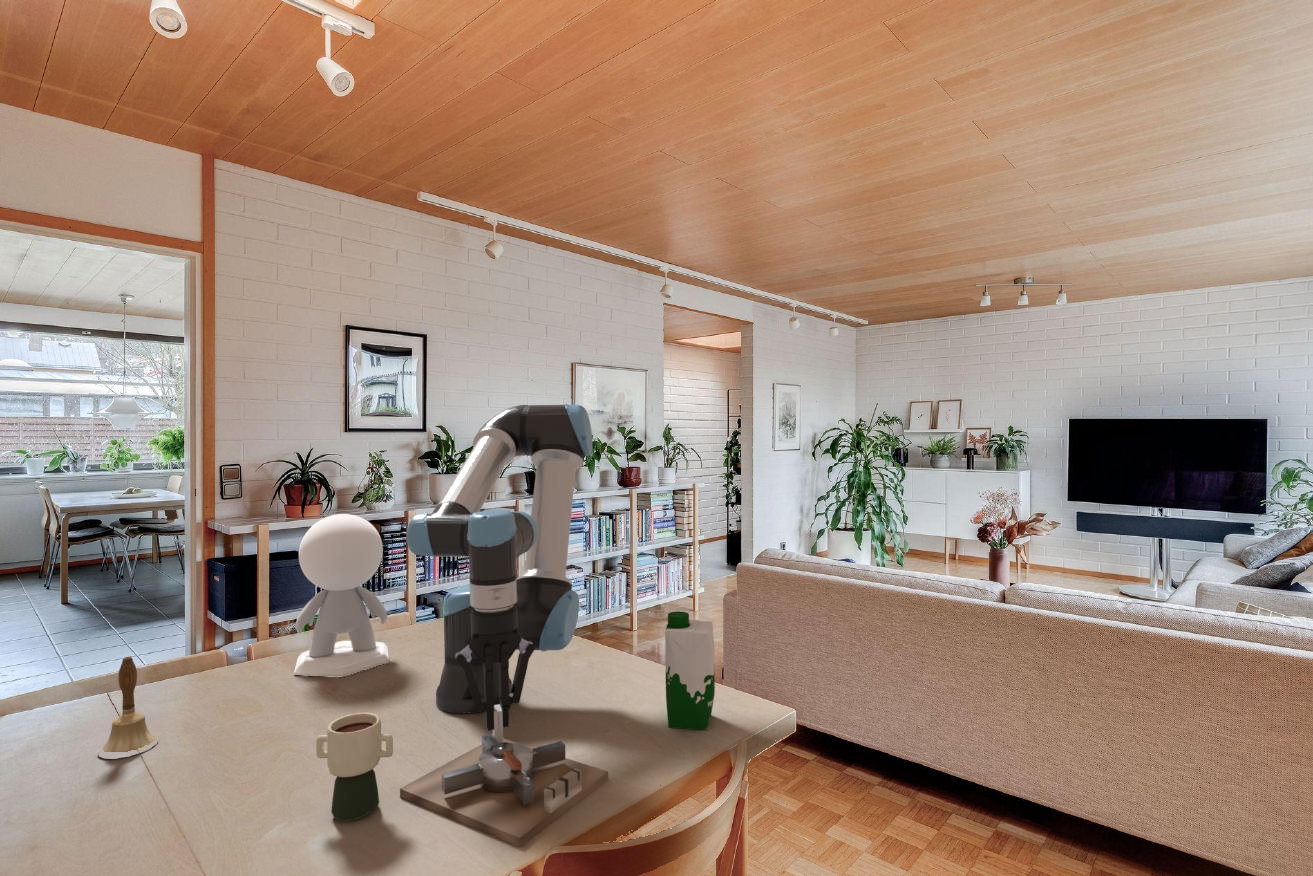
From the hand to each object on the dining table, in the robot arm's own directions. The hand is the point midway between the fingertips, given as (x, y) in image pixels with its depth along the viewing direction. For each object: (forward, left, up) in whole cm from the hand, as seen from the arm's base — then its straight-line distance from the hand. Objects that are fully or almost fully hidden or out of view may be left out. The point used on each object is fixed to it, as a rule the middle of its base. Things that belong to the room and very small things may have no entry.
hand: (498, 746), depth 112 cm
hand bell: (-59, -29, -3) cm, 66 cm away
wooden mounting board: (+7, -5, -2) cm, 9 cm away
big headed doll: (-67, +17, -3) cm, 69 cm away
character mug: (-7, -21, -3) cm, 23 cm away
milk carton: (+20, +30, -3) cm, 36 cm away
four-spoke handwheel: (+7, -5, -1) cm, 9 cm away
